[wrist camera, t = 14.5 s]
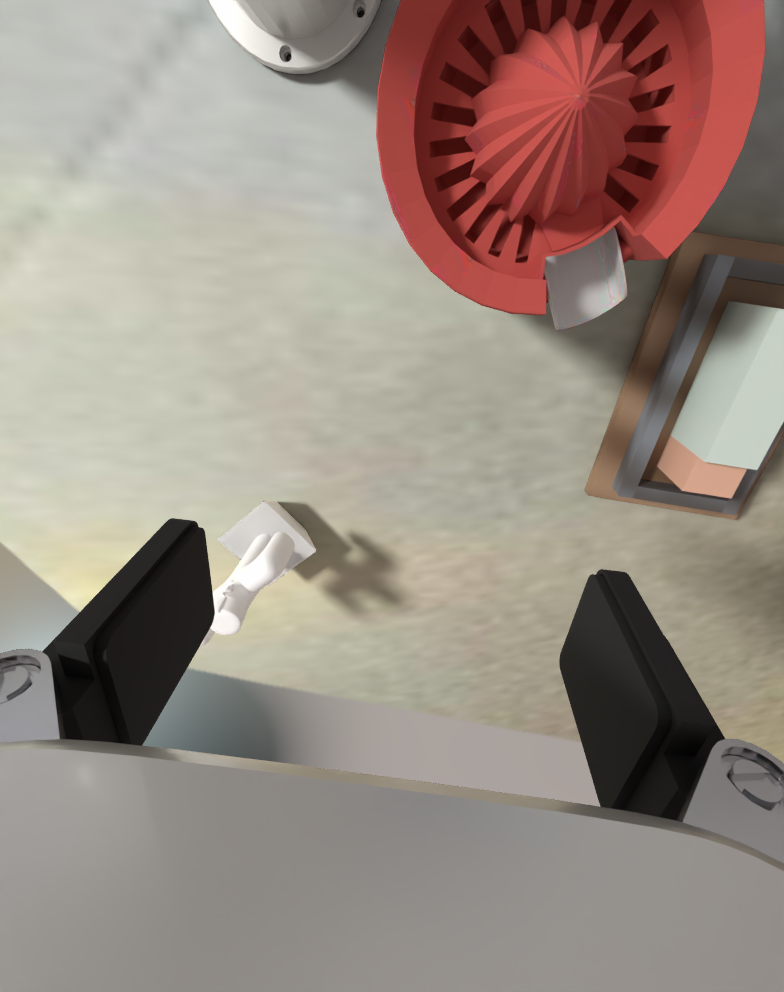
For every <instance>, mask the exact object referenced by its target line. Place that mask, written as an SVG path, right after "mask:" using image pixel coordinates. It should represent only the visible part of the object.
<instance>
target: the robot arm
mask: <svg viewBox="0 0 784 992" xmlns="http://www.w3.org/2000/svg"><path fill="white" fill-rule="evenodd" d="M208 2H209V4H210V6H211V7H212V9H213V11H214V13H215V15H216V16H217V18H218V20H219V22H220V23H221V24H222V26H223V27H224V28H225V30H226V31H227V32H228V33H229V35H230V36H231V37H232V39H233V40H234V41H235V42H236V43H237V44H238V45H239V46H240V47H241V48H242V49H243V50H244V51H245V52H246V53H248V54H249V55H250V56H252V57H253V58H254V59H256V60H257V61H258V62H260V63H261V64H264V65H266V66H268V67H270V68H272V69H274V70H276V71H281V72H286V73H290V74H309V73H313V72H317V71H320V70H323V69H326V68H328V67H330V66H332V65H333V64H335V63H337V62H338V61H340V60H342V59H343V58H344V57H345V56H346V55H347V54H348V53H349V52H350V51H351V50H353V49H354V48H355V47H356V46H357V44H358V43H359V41H360V40H361V39H362V37H363V36H364V35H365V33H366V32H367V30H368V29H369V27H370V25H371V23H372V21H373V19H374V17H375V15H376V13H377V11H378V8H379V5H380V2H381V0H208ZM360 10H363V11H364V12H365V14H364V16H363V17H361V18H359V17H358V12H359V11H360ZM288 54H291V55H292V57H291V60H290V61H289V62H287V61H286V56H287V55H288ZM214 615H215V608H214V600H213V593H212V585H211V577H210V569H209V561H208V553H207V545H206V537H205V531H204V529H203V528H199V527H198V524H197V522H195V521H190V520H182V519H173V518H172V519H169V520H168V521H167V522H166V523H165V524H164V525H163V526H162V527H161V528H160V529H159V530H158V531H157V532H156V533H155V534H154V535H153V536H152V537H151V538H150V540H149V541H148V542H147V543H146V544H145V545H144V546H143V547H142V548H141V549H140V550H139V551H138V552H137V553H136V554H135V555H134V556H133V557H132V558H131V559H130V561H129V562H128V563H127V564H126V565H125V566H124V567H123V568H122V569H121V570H120V571H119V572H118V573H117V574H116V575H115V576H114V577H113V578H112V579H111V580H110V581H109V582H108V583H107V584H106V586H105V587H104V588H103V589H102V590H101V591H100V592H99V593H98V594H97V595H96V596H95V597H94V598H93V599H92V600H91V601H90V602H89V603H88V604H87V605H86V606H85V608H84V609H83V610H82V611H81V612H80V613H79V614H78V615H77V616H76V617H75V618H74V619H73V620H72V621H71V622H70V623H69V624H68V625H67V626H66V627H65V629H64V630H63V631H62V632H61V633H60V634H59V635H58V636H57V637H56V638H55V639H54V640H53V641H52V642H51V643H50V644H49V645H48V646H47V647H46V648H45V649H44V650H43V652H41V651H38V650H33V649H16V650H12V651H8V652H4V653H0V992H784V764H783V763H782V762H781V761H780V760H779V759H777V758H776V757H774V756H773V755H772V754H770V753H769V752H767V751H766V750H764V749H762V748H760V747H758V746H756V745H754V744H752V743H749V742H745V741H742V740H739V739H725V738H724V736H723V734H722V733H721V731H720V729H719V727H718V726H717V724H716V722H715V720H714V719H713V717H712V715H711V714H710V712H709V710H708V708H707V707H706V705H705V703H704V702H703V700H702V698H701V696H700V695H699V693H698V691H697V690H696V688H695V686H694V684H693V683H692V681H691V679H690V678H689V676H688V674H687V672H686V671H685V669H684V667H683V666H682V664H681V662H680V660H679V659H678V657H677V655H676V654H675V652H674V650H673V648H672V647H671V645H670V643H669V642H668V640H667V639H666V637H665V636H664V635H663V633H662V632H661V630H660V628H659V626H658V625H657V623H656V621H655V619H654V618H653V616H652V614H651V613H650V611H649V609H648V607H647V606H646V604H645V602H644V600H643V599H642V597H641V595H640V594H639V592H638V590H637V588H636V587H635V585H634V583H633V582H632V580H631V578H630V576H629V575H628V574H627V573H625V572H620V571H611V570H603V569H601V570H599V571H598V572H597V574H596V575H593V574H592V575H590V576H589V578H588V580H587V583H586V586H585V588H584V591H583V594H582V597H581V599H580V602H579V605H578V608H577V610H576V613H575V616H574V618H573V621H572V624H571V627H570V629H569V632H568V635H567V637H566V640H565V643H564V646H563V648H562V651H561V654H560V670H561V673H562V677H563V680H564V684H565V687H566V691H567V694H568V697H569V701H570V704H571V708H572V711H573V714H574V718H575V721H576V725H577V728H578V732H579V735H580V738H581V742H582V745H583V748H584V752H585V755H586V759H587V762H588V766H589V769H590V773H591V775H592V779H593V783H594V786H595V790H596V793H597V796H598V800H599V803H600V806H601V807H598V806H592V805H585V804H579V803H572V802H566V801H559V800H552V799H546V798H538V797H531V796H523V795H517V794H508V793H502V792H495V791H488V790H480V789H473V788H466V787H459V786H452V785H444V784H437V783H430V782H422V781H415V780H407V779H400V778H392V777H384V776H377V775H369V774H362V773H355V772H347V771H339V770H332V769H324V768H317V767H309V766H302V765H294V764H286V763H278V762H271V761H263V760H255V759H246V758H239V757H231V756H223V755H215V754H208V753H199V752H192V751H184V750H176V749H167V748H158V747H148V746H142V744H143V743H144V741H145V740H146V738H147V736H148V734H149V732H150V730H151V729H152V727H153V726H154V724H155V722H156V721H157V719H158V717H159V715H160V713H161V712H162V710H163V709H164V707H165V705H166V703H167V702H168V700H169V698H170V696H171V695H172V693H173V691H174V690H175V688H176V686H177V684H178V682H179V681H180V679H181V677H182V676H183V674H184V672H185V671H186V669H187V667H188V665H189V664H190V662H191V660H192V658H193V657H194V655H195V653H196V652H197V650H198V648H199V646H200V645H201V643H202V641H203V639H204V638H205V636H206V634H207V633H208V631H209V629H210V627H211V625H212V623H213V620H214Z"/></svg>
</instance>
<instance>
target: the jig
mask: <svg viewBox="0 0 784 992" xmlns="http://www.w3.org/2000/svg"><path fill="white" fill-rule="evenodd" d="M728 301H733V302H740V303H746V304H753V305H759V306H766V307H773V308H779V309H784V246H783V245H776V244H770V243H763V242H757V241H750V240H744V239H737V238H731V237H724V236H717V235H711V234H704V233H698V232H692V233H691V234H690V235H689V236H688V237H687V238H686V239H685V240H684V241H683V242H682V243H681V244H680V246H679V247H678V248H677V249H676V250H675V251H674V252H673V253H672V255H671V257H670V260H669V263H668V265H667V268H666V271H665V274H664V276H663V279H662V282H661V284H660V287H659V290H658V293H657V295H656V298H655V301H654V303H653V306H652V309H651V311H650V314H649V317H648V320H647V322H646V325H645V328H644V330H643V333H642V336H641V339H640V341H639V344H638V347H637V349H636V352H635V355H634V358H633V360H632V363H631V366H630V368H629V371H628V374H627V376H626V379H625V382H624V385H623V387H622V390H621V393H620V395H619V398H618V401H617V404H616V406H615V409H614V412H613V414H612V417H611V420H610V423H609V425H608V428H607V431H606V433H605V436H604V439H603V441H602V444H601V447H600V450H599V452H598V455H597V458H596V460H595V463H594V466H593V469H592V471H591V474H590V477H589V479H588V482H587V485H586V488H585V491H586V493H587V495H588V496H594V497H600V498H606V499H613V500H619V501H625V502H631V503H637V504H643V505H649V506H656V507H662V508H668V509H674V510H680V511H686V512H693V513H699V514H705V515H711V516H717V517H723V518H729V519H737V517H738V515H739V513H740V511H741V510H742V508H743V506H744V504H745V502H746V501H747V499H748V497H749V495H750V493H751V492H752V490H753V488H754V486H755V484H756V483H757V481H758V479H759V477H760V476H761V474H762V472H763V470H764V468H765V467H766V465H767V463H768V461H769V459H770V458H771V456H772V454H773V452H774V450H775V449H776V447H777V445H778V443H779V441H780V440H781V438H782V436H783V434H784V422H783V424H782V425H781V427H780V429H779V431H778V433H777V435H776V436H775V438H774V440H773V442H772V444H771V446H770V447H769V449H768V451H767V453H766V455H765V457H764V458H763V460H762V462H761V464H760V466H759V468H758V469H757V470H753V469H747V470H746V472H745V474H744V476H743V478H742V480H741V482H740V483H739V485H738V487H737V489H736V491H735V493H734V495H733V497H732V498H725V497H718V496H712V495H706V494H700V493H693V492H687V491H682V490H681V489H680V488H679V487H678V486H677V485H676V484H675V483H674V482H673V481H672V480H670V479H669V478H668V477H667V476H666V475H665V474H664V473H663V472H662V471H661V470H660V469H659V468H658V467H657V464H658V462H659V460H660V458H661V455H662V453H663V451H664V448H665V446H666V444H667V441H668V439H669V437H670V435H671V432H672V430H673V428H674V425H675V423H676V421H677V418H678V416H679V414H680V411H681V409H682V407H683V405H684V402H685V400H686V398H687V395H688V393H689V391H690V388H691V386H692V384H693V382H694V379H695V377H696V375H697V372H698V370H699V368H700V365H701V363H702V361H703V358H704V356H705V354H706V352H707V349H708V347H709V345H710V342H711V340H712V338H713V335H714V333H715V331H716V329H717V326H718V324H719V322H720V319H721V317H722V315H723V312H724V310H725V308H726V306H727V303H728Z"/></svg>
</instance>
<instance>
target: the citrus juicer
mask: <svg viewBox="0 0 784 992" xmlns="http://www.w3.org/2000/svg"><path fill="white" fill-rule="evenodd" d="M764 56H765V18H764V0H401V1H400V4H399V7H398V10H397V12H396V15H395V18H394V21H393V24H392V27H391V30H390V33H389V36H388V39H387V42H386V45H385V51H384V56H383V62H382V68H381V73H380V79H379V85H378V90H377V129H376V137H377V144H378V151H379V159H380V166H381V173H382V178H383V182H384V185H385V188H386V191H387V195H388V198H389V201H390V204H391V207H392V211H393V214H394V216H395V217H396V219H397V221H398V223H399V225H400V227H401V229H402V231H403V233H404V235H405V237H406V239H407V241H408V242H409V244H410V246H411V247H412V248H413V250H414V251H415V252H416V253H417V255H418V256H419V257H420V258H421V260H422V261H423V262H424V263H425V265H426V266H427V267H428V269H429V270H430V271H431V272H432V273H433V274H435V275H436V276H437V277H438V278H439V279H441V280H442V281H443V282H444V283H445V284H447V285H448V286H449V287H450V288H451V289H453V290H454V291H455V292H457V293H459V294H461V295H463V296H465V297H467V298H468V299H470V300H472V301H474V302H476V303H478V304H480V305H482V306H485V307H489V308H493V309H496V310H500V311H504V312H507V313H511V314H527V315H545V314H546V303H547V302H549V306H550V310H551V314H552V318H553V322H554V326H555V330H562V329H567V328H571V327H574V326H577V325H580V324H583V323H585V322H588V321H590V320H592V319H594V318H596V317H598V316H599V315H601V314H603V313H605V312H606V311H608V310H610V309H611V308H613V307H614V306H615V305H617V304H618V303H619V302H621V301H622V300H624V299H625V298H626V297H627V283H626V277H625V271H624V265H623V264H624V263H625V262H626V261H628V260H643V261H644V260H658V259H667V258H668V257H669V256H670V255H671V254H672V253H673V252H674V251H675V250H676V249H677V248H678V247H679V246H680V244H681V243H682V242H683V241H684V240H685V239H686V238H687V237H688V236H689V235H690V234H691V233H692V231H693V230H694V229H695V228H696V227H697V226H698V224H699V223H700V221H701V220H702V218H703V217H704V216H705V214H706V213H707V211H708V210H709V208H710V207H711V205H712V204H713V202H714V201H715V199H716V198H717V196H718V195H719V193H720V192H721V191H722V189H723V187H724V185H725V183H726V181H727V179H728V177H729V175H730V173H731V171H732V169H733V167H734V164H735V162H736V160H737V158H738V156H739V154H740V152H741V150H742V148H743V146H744V142H745V139H746V136H747V133H748V130H749V126H750V123H751V120H752V117H753V114H754V111H755V107H756V104H757V101H758V95H759V89H760V82H761V75H762V69H763V62H764Z"/></svg>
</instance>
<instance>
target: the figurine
mask: <svg viewBox="0 0 784 992" xmlns="http://www.w3.org/2000/svg"><path fill="white" fill-rule="evenodd" d="M217 540H218V541H219V542H220V543H222V544H223V545H224V546H225V547H226V548H227V549H228V550H229V551H231V552H232V553H233V554H234V555H235V556H236V557H237V558H238V559H240V560H241V561H240V563H239V564H238V566H237V567H236V569H235V570H234V572H233V573H232V574H231V576H230V577H229V578H228V579H227V580H226V582H225V583H224V584H222V585H221V586H220V587H219V588H217V589H216V590H215V591H213V592H212V593H213V600H214V608H215V615H214V620H213V623H212V625H211V627H210V629H209V631H208V633H207V634H206V636H205V638H204V639H203V641H202V643H201V645H204V644H206V643H208V642H209V640H210V639H211V637H212V636H213V634H214V632H216V633H218V634H222V635H232V634H235V633H237V632H238V631H239V630H240V628H241V625H242V623H243V620H244V618H245V615H246V612H247V610H248V608H249V606H250V604H251V602H252V601H253V599H254V598H255V596H256V595H257V594H258V592H259V591H260V590H261V589H262V588H264V587H265V586H266V585H271V584H272V583H273V582H275V581H276V580H278V579H279V578H280V577H282V576H283V575H285V574H286V573H287V572H289V571H290V570H291V569H293V568H294V567H296V566H297V565H298V564H300V563H301V562H302V561H304V560H305V559H307V558H308V557H309V556H311V555H312V554H313V553H315V552H316V549H315V547H314V545H313V543H312V541H311V539H310V537H309V535H308V533H307V531H306V530H305V529H304V528H303V527H302V526H301V525H300V524H299V523H298V522H297V521H296V520H295V519H294V518H293V517H292V516H291V515H290V514H289V513H288V512H287V511H286V510H285V509H284V508H283V507H282V506H281V505H280V504H279V503H278V502H274V501H263V502H262V503H261V504H260V505H259V506H257V507H256V508H255V509H254V510H252V511H251V512H250V513H249V514H248V515H246V516H245V517H244V518H243V519H242V520H240V521H239V522H238V523H237V524H236V525H234V526H233V527H232V528H231V529H230V530H228V531H227V532H226V533H225V534H224V535H222V536H221V537H220V538H219V539H217Z"/></svg>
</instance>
